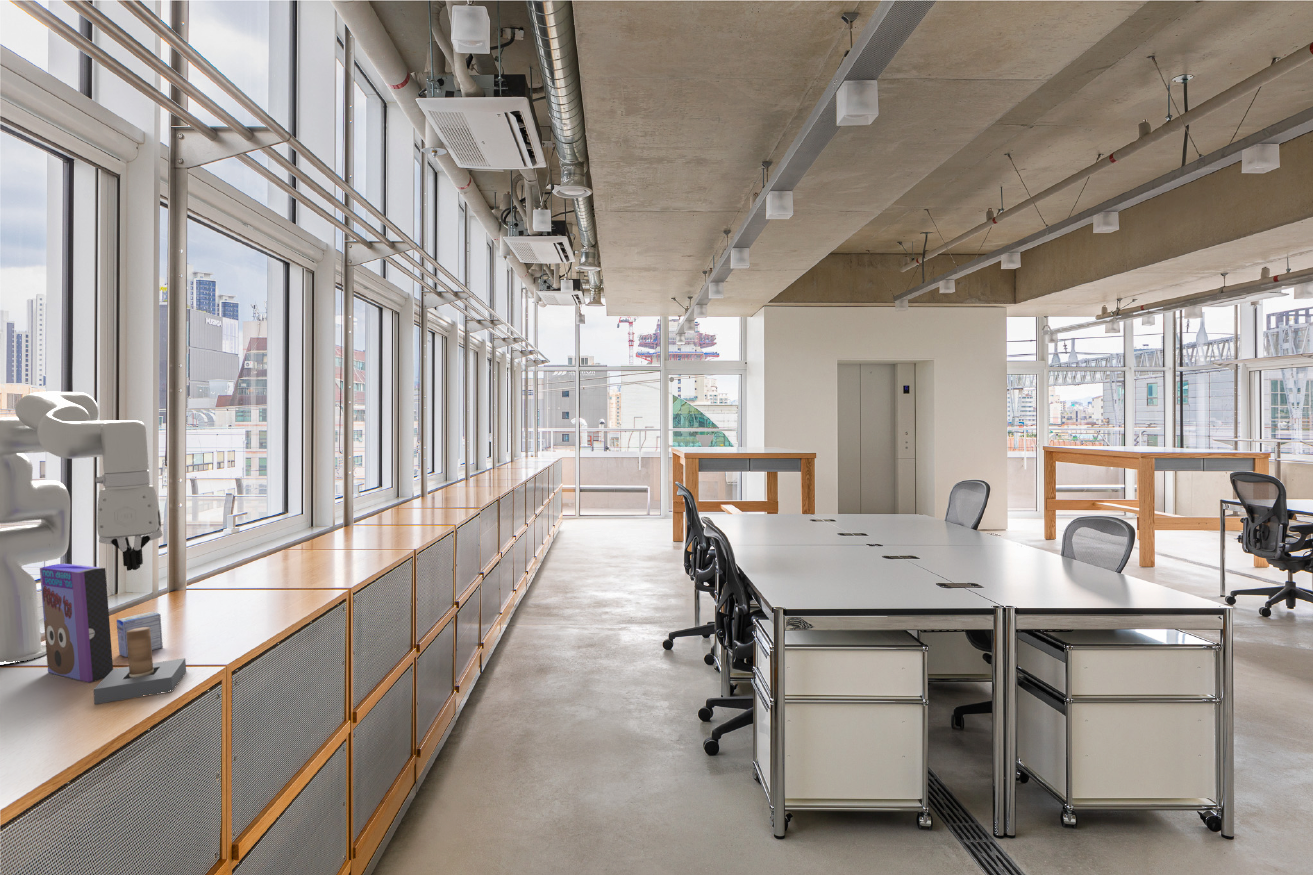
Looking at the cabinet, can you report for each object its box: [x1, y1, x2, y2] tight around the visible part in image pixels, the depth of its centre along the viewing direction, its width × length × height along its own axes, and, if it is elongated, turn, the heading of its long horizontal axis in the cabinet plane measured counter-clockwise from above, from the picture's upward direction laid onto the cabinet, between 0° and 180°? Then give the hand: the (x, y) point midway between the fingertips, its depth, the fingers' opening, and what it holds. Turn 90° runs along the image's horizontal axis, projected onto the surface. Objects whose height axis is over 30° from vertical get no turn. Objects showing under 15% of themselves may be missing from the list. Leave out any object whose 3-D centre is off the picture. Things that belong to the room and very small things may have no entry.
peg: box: [126, 627, 154, 678], centre depth 151 cm, size 4×4×12 cm
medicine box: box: [116, 611, 164, 658], centre depth 176 cm, size 8×4×9 cm, turn 144°
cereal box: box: [39, 563, 114, 684], centre depth 161 cm, size 17×5×24 cm, turn 62°
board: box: [93, 657, 187, 705], centre depth 151 cm, size 13×13×3 cm
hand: (133, 568), depth 150 cm, fingers closed
